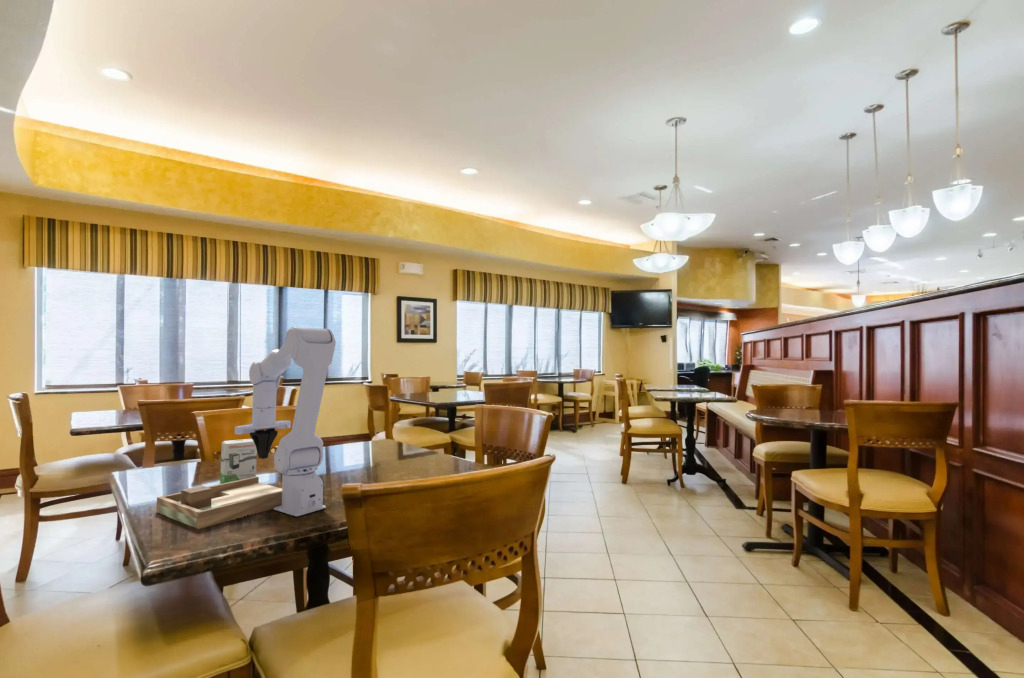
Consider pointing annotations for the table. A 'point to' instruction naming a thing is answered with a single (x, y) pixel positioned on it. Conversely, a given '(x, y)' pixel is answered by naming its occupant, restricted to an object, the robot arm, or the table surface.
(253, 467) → the ink box
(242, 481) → the board
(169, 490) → the table surface
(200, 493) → the walnut block
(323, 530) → the table surface
